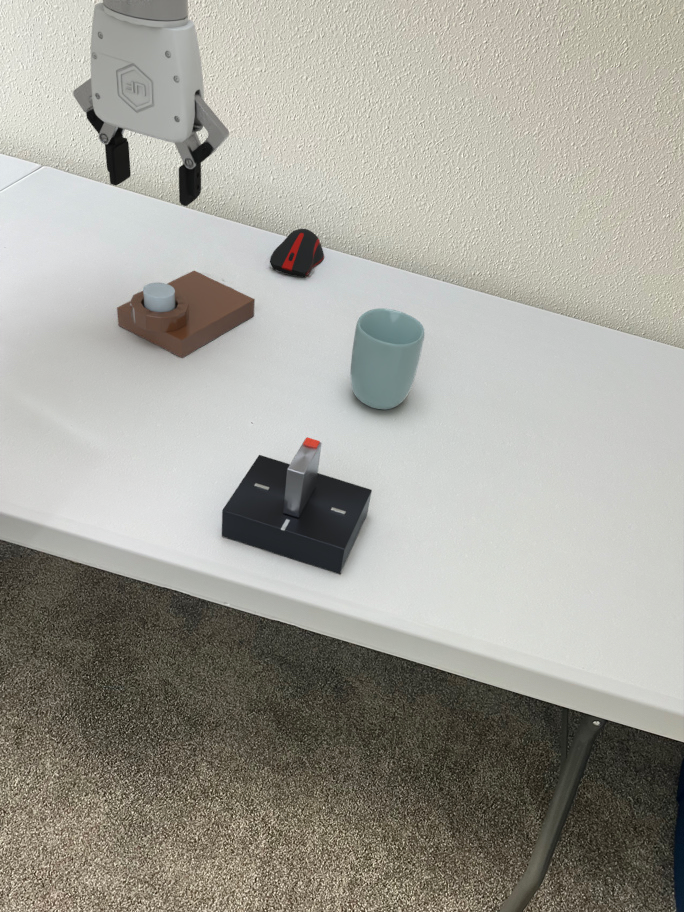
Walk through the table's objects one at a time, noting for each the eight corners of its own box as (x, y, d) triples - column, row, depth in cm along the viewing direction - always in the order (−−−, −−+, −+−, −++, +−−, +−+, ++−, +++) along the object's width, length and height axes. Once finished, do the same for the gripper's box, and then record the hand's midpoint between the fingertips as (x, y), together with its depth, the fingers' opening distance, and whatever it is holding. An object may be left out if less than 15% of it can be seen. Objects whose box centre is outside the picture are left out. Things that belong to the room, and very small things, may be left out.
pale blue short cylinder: (161, 316, 92) (160, 301, 90) (137, 305, 93) (136, 289, 91) (181, 306, 94) (181, 290, 93) (158, 294, 95) (157, 279, 94)
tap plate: (221, 537, 75) (221, 509, 72) (258, 479, 81) (259, 452, 79) (339, 575, 74) (344, 548, 71) (367, 514, 81) (372, 487, 78)
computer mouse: (264, 271, 112) (266, 244, 109) (289, 241, 120) (291, 216, 117) (306, 283, 112) (309, 256, 109) (328, 252, 120) (331, 227, 117)
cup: (419, 395, 97) (435, 324, 90) (392, 426, 92) (408, 353, 85) (364, 372, 99) (376, 300, 92) (334, 401, 93) (344, 327, 86)
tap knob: (298, 518, 73) (304, 472, 69) (282, 513, 73) (287, 466, 69) (316, 485, 77) (322, 440, 73) (300, 481, 77) (306, 435, 73)
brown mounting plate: (174, 362, 93) (173, 329, 90) (110, 329, 95) (107, 295, 92) (254, 316, 103) (255, 284, 100) (194, 287, 106) (193, 255, 103)
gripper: (33, -22, 69) (60, 180, 82) (217, 29, 68) (215, 226, 81) (80, -33, 75) (98, 158, 87) (250, 14, 74) (244, 201, 86)
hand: (154, 190), depth 84 cm, fingers open, 7 cm apart
